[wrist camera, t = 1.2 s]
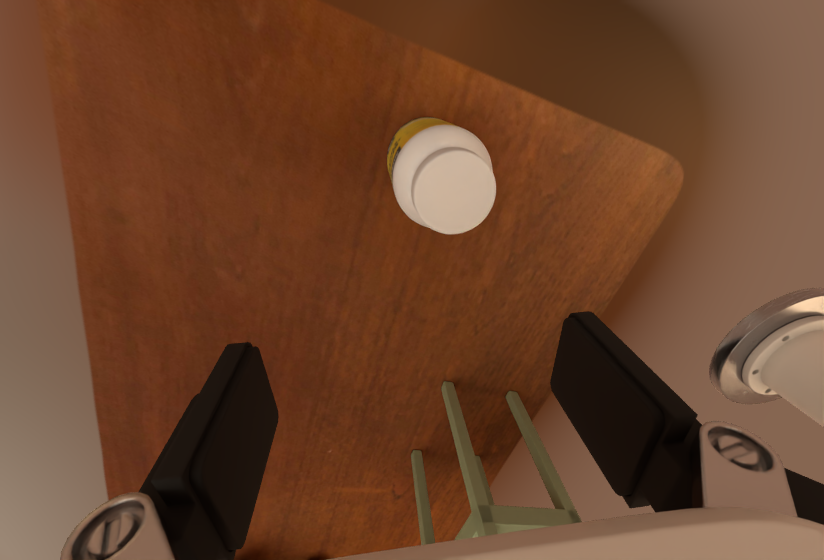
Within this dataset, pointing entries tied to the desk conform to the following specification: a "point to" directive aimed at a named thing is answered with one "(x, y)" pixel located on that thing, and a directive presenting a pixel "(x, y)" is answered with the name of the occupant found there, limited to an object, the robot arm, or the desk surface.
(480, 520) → the mint side table
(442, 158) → the pill bottle
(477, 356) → the desk surface
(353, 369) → the desk surface
